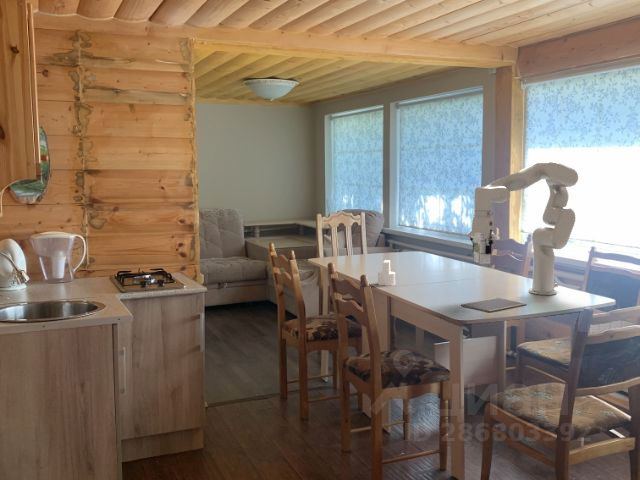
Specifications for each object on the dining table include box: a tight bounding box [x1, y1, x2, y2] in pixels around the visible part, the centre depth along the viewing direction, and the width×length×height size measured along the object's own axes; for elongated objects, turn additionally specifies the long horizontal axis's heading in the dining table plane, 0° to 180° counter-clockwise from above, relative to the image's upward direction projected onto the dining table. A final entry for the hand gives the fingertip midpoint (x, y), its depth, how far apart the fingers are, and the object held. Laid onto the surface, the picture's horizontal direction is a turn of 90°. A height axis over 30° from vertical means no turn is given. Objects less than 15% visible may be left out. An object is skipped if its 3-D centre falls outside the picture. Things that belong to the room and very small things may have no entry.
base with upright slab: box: [377, 259, 396, 287], centre depth 329 cm, size 9×9×12 cm
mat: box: [460, 297, 527, 313], centre depth 280 cm, size 24×16×1 cm, turn 125°
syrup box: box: [473, 232, 491, 265], centre depth 292 cm, size 6×6×14 cm
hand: (481, 252), depth 292 cm, fingers closed on syrup box, 6 cm apart
